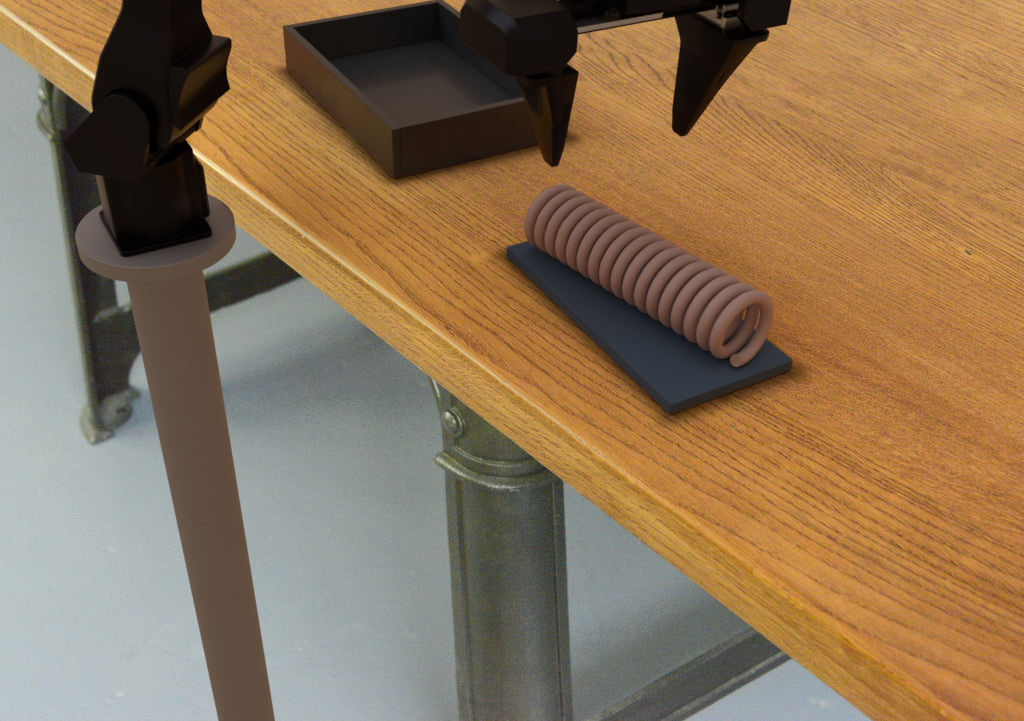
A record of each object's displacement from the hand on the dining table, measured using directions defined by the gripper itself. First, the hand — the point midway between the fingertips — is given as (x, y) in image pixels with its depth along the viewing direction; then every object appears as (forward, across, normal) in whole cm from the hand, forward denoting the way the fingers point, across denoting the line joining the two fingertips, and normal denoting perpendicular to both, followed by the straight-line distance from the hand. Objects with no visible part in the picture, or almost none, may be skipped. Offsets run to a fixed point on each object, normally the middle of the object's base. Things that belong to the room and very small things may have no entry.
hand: (616, 148), depth 69 cm
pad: (+11, -1, +3) cm, 11 cm away
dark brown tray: (+11, -2, -31) cm, 33 cm away
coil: (+10, -1, +2) cm, 10 cm away
